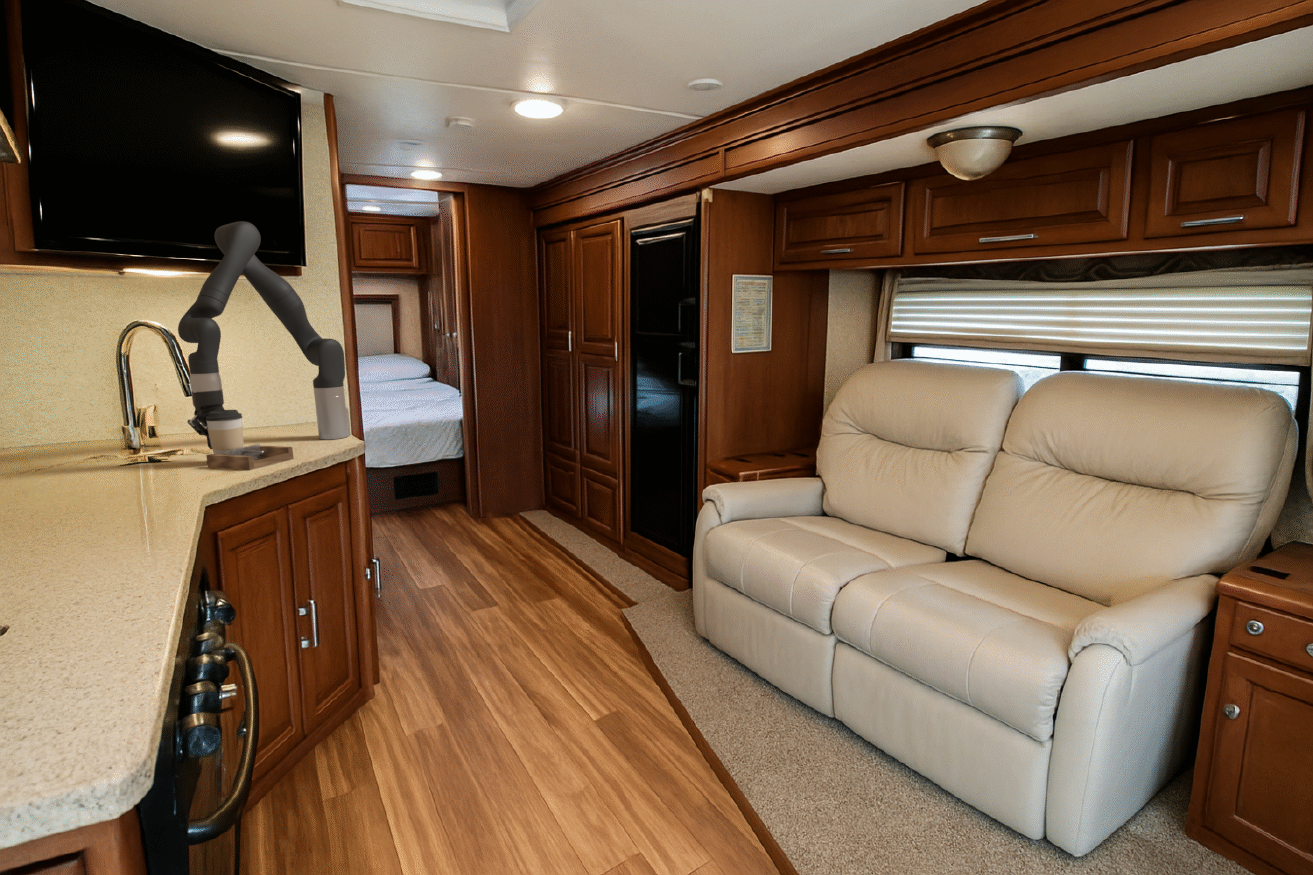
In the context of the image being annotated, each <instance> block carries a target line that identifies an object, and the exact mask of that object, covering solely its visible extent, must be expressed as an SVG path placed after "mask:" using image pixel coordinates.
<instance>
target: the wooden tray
mask: <svg viewBox="0 0 1313 875" xmlns="http://www.w3.org/2000/svg"><path fill="white" fill-rule="evenodd" d="M260 450H261V451H265V454H261V458H259V459H254V460H253V456H240V455H221V454H214V453H209V454H206V455H205V457H206V462H207V468H210V469H212V468H213V469H225V470H226V469H227V470H228V469H229V470H246V471H251V470H254V469H259V468H264V467H267V466H271V465H274V464H278V463H283V462H286V461H290V460H293V459H294V450H293V446H283V445H282V446H280V445H279V446H277V445H261V444H260Z"/></svg>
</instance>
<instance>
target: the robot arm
mask: <svg viewBox="0 0 1313 875" xmlns="http://www.w3.org/2000/svg"><path fill="white" fill-rule="evenodd" d="M261 238H262V237H261V234H260V231H259V230H258V229H257V227H256V226H255V225H254V224H253V223H251V222H249V221H244V220H243V221H242V220H241V221H235V222H230V223H228V224H227V223H226V224H224V225H220V226H219V227H217V228H216V230H215V232H214V240H215V243H216V245H217V247H218V248H219V250H220V251H221V253H222V254H223V255H224V256H223V257H222V259H221V261H220V262H219V263H218V265H216V267H215V268H214V269H213V271H212V272H211V273H210V274H209V275H208V277H207V278H205V280H204V282H203V284H202V286H201V288H200V291H199V293H198V295H197V298H196V300H195V302H193V304H192V305H191V306H190V307H189V309H188V310H187V311H186V312H185V313H184V315H183V316H182V317H181V318H180V320H179V322H178V326H177V332H178V336H179V338H180V339H181V340H182V341H184V342H185V343H189V344H197V347H196V351H195V352H192V353H190V354H189V355H188V357H187V358H188V359H187V360H188V369H189V384H190V392H191V399H192V405H193V407H194V413H193V415H194V416H193V417H192V418H191V419H188V420H187V424H188V425H189V426H190V427H191V428H192V429H193V430H194V431H195V432H196V433H197V434H198V435H200V436H203V437H206V442H207V447H208V448H209V449H210V450H212V447H211V442H210V438H209V433H208V426H207V421H206V416H208V415H209V412H212V411H219V410H226V409H225V407H224V404H225V400H224V392H223V383H222V378H221V375H220V369H219V362H218V361H219V360H218V357H219V350H220V344H221V338H222V337H221V336H222V333H221V328H220V326H219V324H218V323H217V321H215V319H213V318H216V317H219V316H221V315H222V314H223V312H224V311H225V308H226V307H227V303H228V302H229V299H230V297H231V294H232V292H233V290H234V288H235V285H237V282H238V280H239V278H240V277H241V275H243V276H244V277H245V278H246V280H247V281H248V282H249V283H250V284H251V286H252V287H253V288H254V290H255V291H256V292H257V293H258V294H259V296H260V298H262V300H263V301H264V303H265V304H266V305H267V306H268V307H269V309H270V310H271V312H272V313H273V314H274V316H276V317H277V319H278V320H279V321H280V322H281V324H282V325H283V327H284V328H285V329H286V330H287V332H289V333H290V335H291V337H292V338H293V340H294V341H295V342H296V344H297V345H298V347H299V349H300V350H301V352H302V353H303V355H304V357H305V358H306V360H308V362H309V363H311V364H312V365H314V366H317V367H318V374H317V375H316V377H315V378H313V380H312V385H313V396H314V404H315V413H316V423H317V431H318V438H319V440H338V439H344V438H347V437H349V436H351V435H352V434H351V428H350V427H351V425H350V415H349V408H348V407H347V406H346V397H345V396H346V395H345V386H344V381H345V377H346V367H345V366H346V364H345V352H344V348H343V346H342V344H341V343H340V342H339V340H336V339H334V338H323V337H321V336H320V335H319V333H318V332H317V331H316V330H315V328H314V327H313V326H312V325H311V323H310V321H309V319H308V316H307V312H306V309H305V305H304V303H303V300H302V299H301V297H300V295H299V294H298V293H297V291H296V290H295V289H294V287H293V286H292V285H291V284H290V283H289V282H288V281H287V280H286V279H285V278H283V276H281V275H280V274H277V273H276V272H275V271H273V270H271V269H270V268H269V267H268V266H266V264H264V263H263V262H261V260H259V258H258V257H257V256H256V255H255V254H256V252H257V251H258V249H259V247H260V245H261Z"/></svg>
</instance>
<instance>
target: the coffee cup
mask: <svg viewBox="0 0 1313 875" xmlns="http://www.w3.org/2000/svg"><path fill="white" fill-rule="evenodd" d="M206 421H207V426H208V433H209V438H210V442H211V447H212V449H211V450H212V452H213V453H212V454H221V455H224V453H223V451H227V450H232V449H236V448H241V447H244V427H243V415H242V413H240V412H239V411H238V410H237V409H225V410H219V411H212V412H209V415H208V416H206Z"/></svg>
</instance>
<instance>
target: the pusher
mask: <svg viewBox="0 0 1313 875" xmlns="http://www.w3.org/2000/svg"><path fill="white" fill-rule="evenodd" d="M260 445H261V444H259V443H256V444H250V445H247V446H243V447H241V448H236V449H232V450H227V451H223V453H224V455H240V456H253V460H254V461H255V460H259V459H262V458H261V454H265V451H261V450H260Z"/></svg>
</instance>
